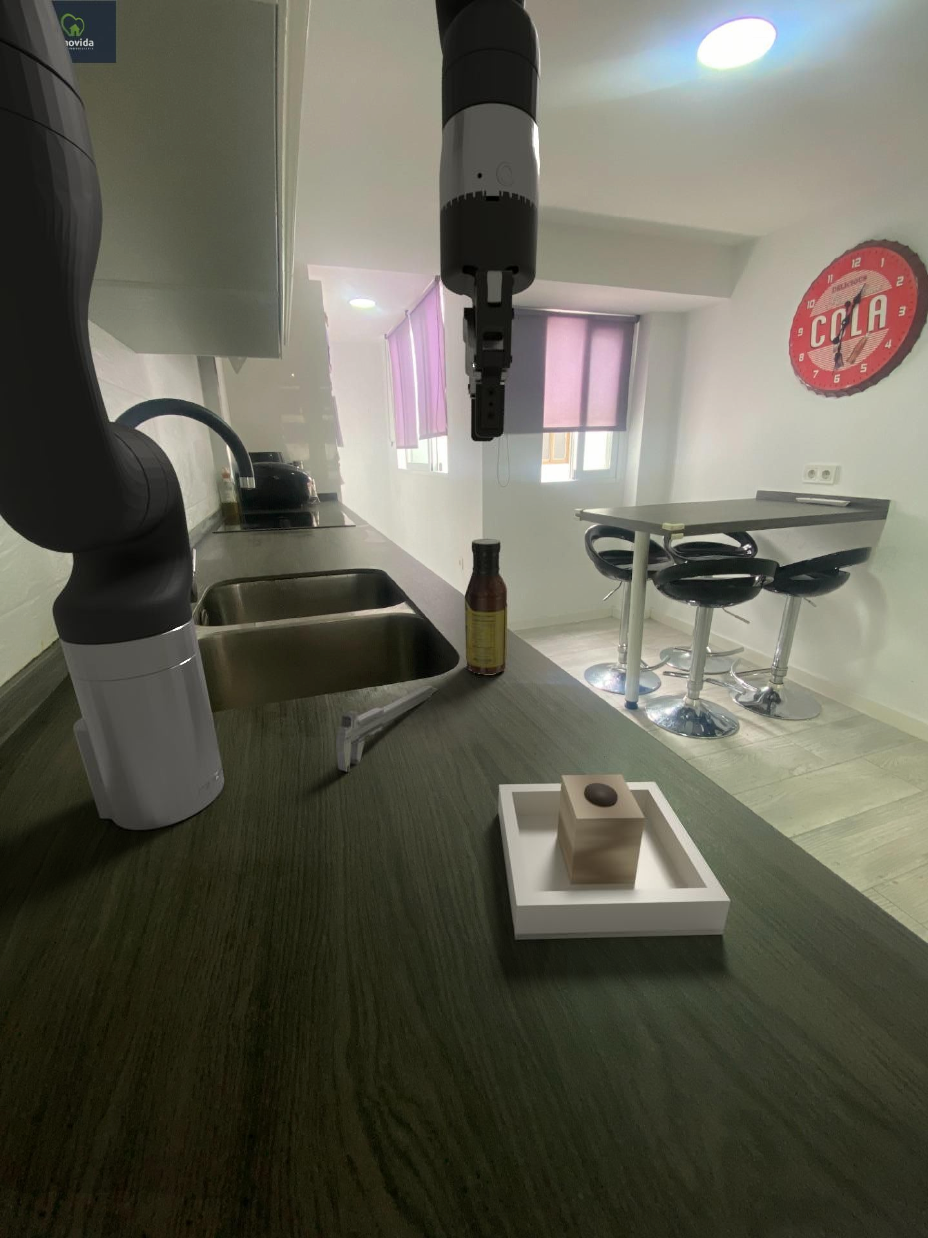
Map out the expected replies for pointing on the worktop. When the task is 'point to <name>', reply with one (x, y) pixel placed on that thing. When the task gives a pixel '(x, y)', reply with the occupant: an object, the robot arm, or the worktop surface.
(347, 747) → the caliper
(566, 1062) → the worktop surface
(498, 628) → the sauce bottle
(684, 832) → the tray
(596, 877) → the block
